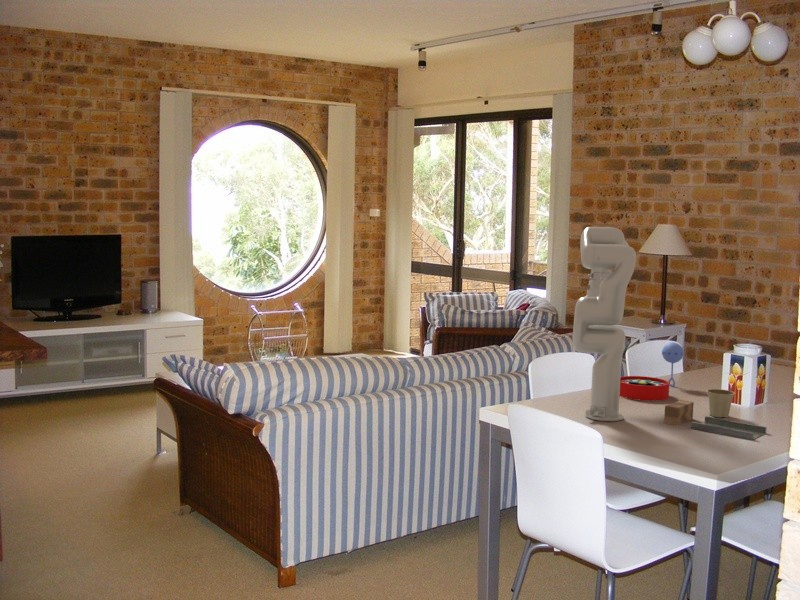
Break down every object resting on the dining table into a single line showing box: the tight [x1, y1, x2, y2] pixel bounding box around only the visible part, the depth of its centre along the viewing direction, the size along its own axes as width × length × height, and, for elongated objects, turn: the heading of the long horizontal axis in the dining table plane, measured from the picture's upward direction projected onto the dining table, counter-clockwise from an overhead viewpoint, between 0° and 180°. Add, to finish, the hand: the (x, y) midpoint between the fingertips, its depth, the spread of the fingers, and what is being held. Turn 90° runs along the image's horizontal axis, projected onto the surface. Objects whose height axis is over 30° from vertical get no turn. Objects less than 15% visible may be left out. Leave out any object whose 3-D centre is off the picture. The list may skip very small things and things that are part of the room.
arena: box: [690, 415, 767, 441], centre depth 287 cm, size 12×20×2 cm, turn 49°
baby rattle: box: [661, 341, 685, 387], centre depth 359 cm, size 9×9×18 cm
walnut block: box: [663, 399, 695, 426], centre depth 299 cm, size 13×4×6 cm, turn 139°
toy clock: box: [620, 375, 670, 402], centre depth 340 cm, size 20×6×20 cm
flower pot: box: [706, 388, 736, 418], centre depth 308 cm, size 9×9×9 cm
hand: (599, 321), depth 335 cm, fingers open, 9 cm apart
